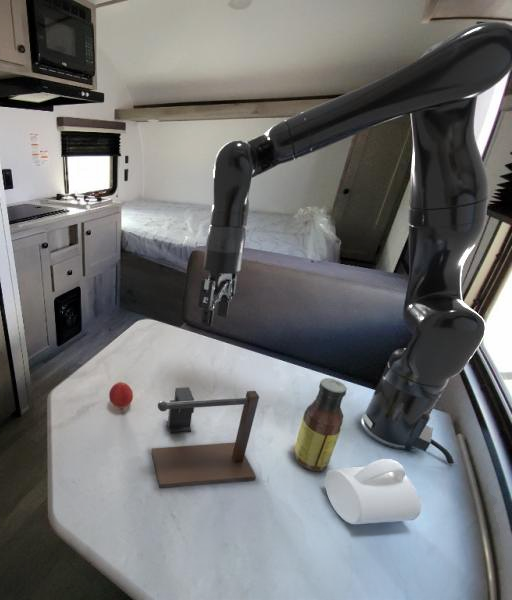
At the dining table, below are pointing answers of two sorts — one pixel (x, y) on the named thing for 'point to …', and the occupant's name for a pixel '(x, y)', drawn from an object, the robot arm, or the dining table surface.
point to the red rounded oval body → (121, 395)
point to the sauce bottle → (321, 426)
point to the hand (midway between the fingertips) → (214, 320)
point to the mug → (373, 493)
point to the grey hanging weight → (180, 412)
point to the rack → (207, 450)
